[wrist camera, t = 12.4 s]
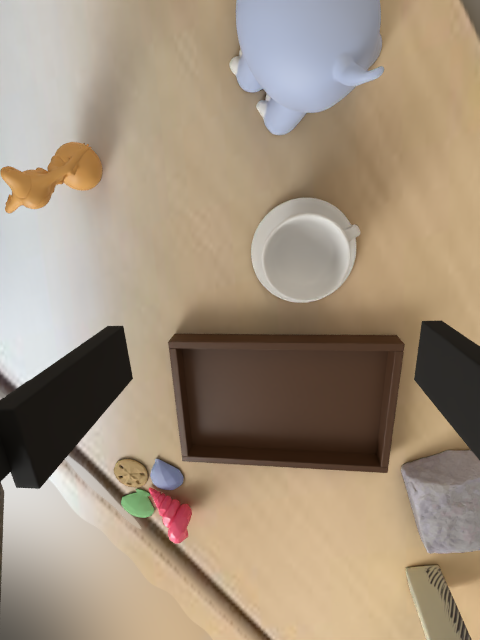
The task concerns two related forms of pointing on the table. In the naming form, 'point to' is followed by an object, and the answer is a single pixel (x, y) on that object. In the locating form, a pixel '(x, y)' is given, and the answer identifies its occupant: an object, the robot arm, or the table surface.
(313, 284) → the teacup
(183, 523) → the toy pieces
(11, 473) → the robot arm
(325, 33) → the hippopotamus toy
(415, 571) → the box
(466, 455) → the stone block
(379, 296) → the table surface
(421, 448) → the table surface
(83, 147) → the figurine
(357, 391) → the tray
